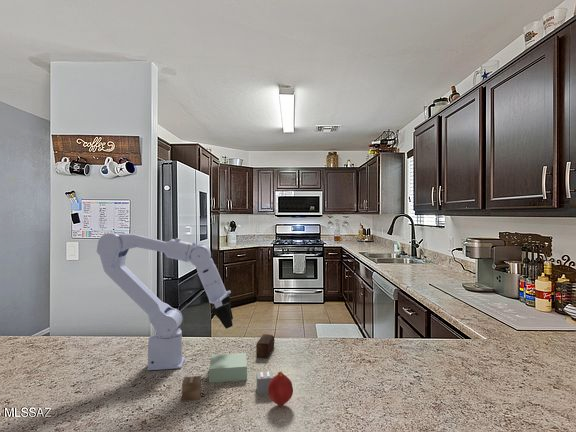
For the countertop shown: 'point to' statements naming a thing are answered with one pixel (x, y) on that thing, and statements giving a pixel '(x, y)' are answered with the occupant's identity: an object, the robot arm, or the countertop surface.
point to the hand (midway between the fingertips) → (229, 323)
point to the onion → (280, 389)
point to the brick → (264, 346)
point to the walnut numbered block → (191, 388)
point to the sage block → (228, 367)
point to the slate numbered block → (263, 382)
